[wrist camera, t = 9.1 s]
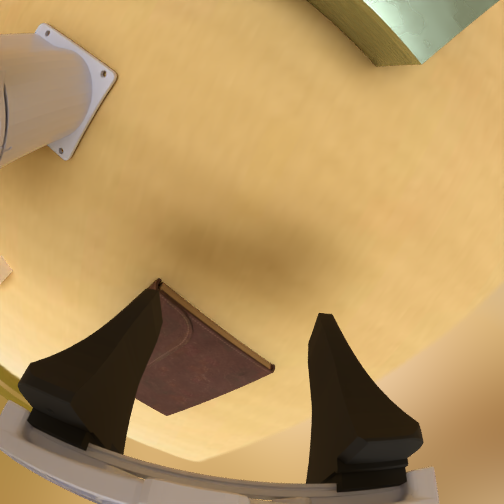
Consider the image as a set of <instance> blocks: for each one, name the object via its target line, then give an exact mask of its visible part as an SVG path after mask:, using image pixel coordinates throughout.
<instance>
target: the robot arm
mask: <svg viewBox="0 0 504 504" xmlns="http://www.w3.org/2000/svg"><path fill="white" fill-rule="evenodd" d="M49 31H50V34H49V36H48V33H49ZM104 71H106V73H107V74H106V76H105V77H104V76H103V73H104ZM116 78H117V75H116V73H115V71H113V70H112V69H110V68H109V67H108V66H106V65H105V64H104V63H102V62H101V61H100V60H98V59H97V58H96V57H94V56H93V55H91V54H90V53H89V52H87V51H86V50H84V49H83V48H82V47H80V46H79V45H77V44H76V43H75V42H73V41H72V40H70V39H69V38H67V37H66V36H64V35H63V34H62V33H60V32H59V31H57V30H56V29H54V28H53V27H51V26H50V25H48V24H47V23H41V24H40V25H39V26H38V28H37V30H36V32H35V33H20V34H0V168H2V167H4V166H6V165H7V164H9V163H11V162H13V161H15V160H17V159H19V158H21V157H23V156H25V155H27V154H29V153H31V152H33V151H35V150H37V149H39V148H41V147H44V146H46V145H47V146H49V147H50V148H51V149H52V150H53V151H54V152H55V153H56V154H58V155H59V156H60V157H61V158H62V159H63V160H68V159H70V158H71V157H72V155H73V153H74V151H75V149H76V147H77V145H78V143H79V141H80V139H81V138H82V136H83V134H84V132H85V130H86V128H87V127H88V125H89V123H90V121H91V120H92V118H93V116H94V114H95V113H96V111H97V109H98V108H99V106H100V104H101V103H102V101H103V99H104V98H105V96H106V95H107V93H108V91H109V90H110V88H111V87H112V85H113V84H114V82H115V81H116ZM61 149H63V152H62V150H61ZM162 323H163V319H162V311H161V302H160V293H159V290H154V289H148V288H147V289H145V290H144V291H143V292H142V293H141V294H140V295H139V296H138V297H137V298H135V299H134V300H133V301H132V302H131V303H130V304H129V305H128V306H127V307H126V308H124V309H123V310H122V311H121V312H120V313H119V314H118V315H116V316H115V317H114V318H113V319H112V320H110V321H109V322H108V323H107V324H105V325H104V326H103V327H101V328H100V329H99V330H97V331H96V332H95V333H93V334H92V335H90V336H89V337H87V338H85V339H84V340H82V341H80V342H79V343H77V344H75V345H73V346H71V347H70V348H68V349H66V350H63V351H61V352H59V353H57V354H55V355H52V356H50V357H47V358H44V359H41V360H38V361H36V362H32V363H30V365H29V366H28V368H27V369H26V371H25V373H24V374H23V376H22V378H21V379H20V381H19V383H18V388H19V390H20V392H21V393H22V395H23V396H24V397H25V399H26V400H27V401H28V402H29V403H30V405H31V406H32V407H33V409H32V411H31V413H30V412H29V411H28V410H27V409H25V408H23V407H21V406H20V405H18V404H16V403H14V402H12V401H11V400H8V402H7V403H6V405H5V407H4V409H3V411H2V413H1V415H0V450H1V451H3V452H4V453H5V454H7V455H8V456H9V457H11V458H12V459H13V460H14V461H16V462H17V463H19V464H21V465H22V466H24V467H26V468H27V469H29V470H31V471H33V472H34V473H36V474H38V475H40V476H41V477H43V478H45V479H47V480H49V481H50V482H52V483H54V484H56V485H58V486H60V487H62V488H64V489H66V490H68V491H70V492H72V493H75V494H77V495H79V496H81V497H83V498H85V499H88V500H90V501H92V502H95V503H97V504H439V497H438V490H437V483H436V478H435V472H434V467H432V466H431V467H426V468H422V469H416V470H411V471H409V472H406V470H405V467H406V466H408V459H407V458H408V457H409V456H411V455H412V454H413V453H415V452H416V451H417V450H418V449H419V448H420V447H421V446H422V444H423V438H422V432H421V429H420V426H419V423H418V422H417V421H415V420H414V419H413V418H411V417H410V416H409V415H407V414H406V413H405V412H403V411H402V410H401V409H400V408H399V407H398V406H397V405H396V404H394V403H393V402H392V401H391V400H390V399H389V398H388V397H387V396H386V395H385V394H384V393H383V392H382V391H381V390H380V388H379V387H378V386H377V385H376V384H375V383H374V381H373V380H372V379H371V378H370V376H369V375H368V374H367V372H366V371H365V370H364V368H363V367H362V365H361V364H360V362H359V361H358V359H357V358H356V356H355V355H354V353H353V351H352V350H351V348H350V346H349V345H348V343H347V341H346V339H345V338H344V336H343V334H342V332H341V330H340V328H339V326H338V324H337V322H336V320H335V318H334V316H333V315H332V314H324V313H319V314H318V317H317V320H316V323H315V326H314V329H313V332H312V335H311V337H310V340H309V343H308V369H309V379H310V390H311V401H312V427H311V443H310V455H309V465H308V472H307V479H306V484H290V483H269V482H256V481H246V480H237V479H229V478H222V477H215V476H209V475H203V474H198V473H192V472H187V471H182V470H178V469H173V468H169V467H165V466H160V465H157V464H153V463H149V462H145V461H142V460H138V459H135V458H131V457H128V456H125V455H123V454H124V447H125V441H126V435H127V430H128V425H129V420H130V416H131V412H132V408H133V404H134V400H135V396H136V393H137V389H138V386H139V383H140V380H141V378H142V375H143V373H144V371H145V368H146V366H147V364H148V361H149V359H150V357H151V355H152V352H153V350H154V348H155V345H156V343H157V340H158V337H159V334H160V330H161V327H162ZM138 477H140V478H143V479H140V478H138ZM144 479H145V480H144ZM249 498H251V499H249ZM256 499H263V500H272V501H263V500H256Z"/></svg>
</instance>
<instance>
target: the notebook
mask: <svg viewBox="0 0 504 504" xmlns="http://www.w3.org/2000/svg"><path fill="white" fill-rule="evenodd" d="M160 281H161V279H160V278H159V279H158V280H156V281H155V282H154V283H153V284H152V285H151V286H150V287H149V288H148V289H154V290H159V293H160V302H161V311H162V319H163V323H162V327H161V330H160V334H159V337H158V340H157V343H156V345H155V348H154V350H153V352H152V355H151V357H150V359H149V361H148V364H147V366H146V368H145V371H144V373H143V375H142V378H141V380H140V383H139V386H138V389H137V393H136V396H135V398H136V399H138V400H139V401H141V402H143V403H144V404H146V405H148V406H150V407H151V408H153V409H155V410H157V411H158V412H160V413H162V414H164V415H166V416H168V415H171V414H174V413H177V412H180V411H182V410H185V409H188V408H190V407H193V406H196V405H198V404H201V403H203V402H206V401H209V400H211V399H214V398H216V397H218V396H221V395H223V394H226V393H228V392H231V391H233V390H235V389H238V388H240V387H242V386H245V385H247V384H249V383H251V382H254V381H256V380H258V379H260V378H262V377H264V376H267V375H269V374H271V373H273V372H274V370H275V365H274V364H273V365H272V364H271V363H269V362H268V361H267V360H265V359H264V358H262V357H261V356H259V355H258V354H257V353H255V352H254V351H252V350H251V349H250V348H248V347H247V346H245V345H244V344H243V343H241V342H240V341H238V340H237V339H236V338H234V337H233V336H232V335H230V334H229V333H227V332H226V331H225V330H223V329H222V328H221V327H219V326H218V325H217V324H215V323H214V322H213V321H211V320H210V319H209V318H208V317H206V316H205V315H204V314H202V313H201V312H200V311H198V310H197V309H196V308H195V307H193V306H192V305H191V304H189V303H188V302H187V301H186V300H184V299H183V298H182V297H181V296H179V295H178V294H177V293H176V292H174V291H173V290H172V289H171V288H169V287H168V286H167V285H166V284H164V283H162V284H161V285H160V286H159V287H158V284H159V282H160Z"/></svg>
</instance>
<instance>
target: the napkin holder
mask: <svg viewBox="0 0 504 504" xmlns="http://www.w3.org/2000/svg"><path fill="white" fill-rule="evenodd" d="M12 271H13V270H12V269H11V267H10V266H9V265H8V263H7V262H6V260H5V259H4V258H3V256H2V255H1V256H0V284H1V283H2V282H3V281H4V280H5V279H6V277H7V276H8V275H9V274H10V273H11V272H12Z"/></svg>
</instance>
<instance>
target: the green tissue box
mask: <svg viewBox="0 0 504 504" xmlns="http://www.w3.org/2000/svg"><path fill="white" fill-rule="evenodd" d="M307 1H308V2H310V3H311V4H312V5H313V6H314V7H316V8H317V9H318V10H319V11H320V12H321V13H323V14H324V15H325V16H326V17H327V18H328V19H329V20H331V21H332V22H333V23H334V24H335V25H336V26H337V27H338V28H339V29H340V30H341V31H342V32H344V33H345V34H346V35H347V36H348V37H349V38H350V39H351V40H352V41H353V42H354V43H355V44H356V45H357V46H358V47H359V48H360V49H361V50H362V51H363V52H364V53H365V54H366V56H367V57H368V58H369V59H370V60H371V61H372V62H373V63H374V64H375V65H376V66H377V67H378V66H393V65H420V64H423V63H424V62H425V61H426V60H428V59H429V58H430V57H431V56H432V55H433V54H435V53H436V52H437V51H438V50H439V49H441V48H442V47H443V46H444V45H445V44H446V43H448V42H449V41H450V40H451V39H452V38H454V37H455V36H456V35H457V34H458V33H460V32H461V31H462V30H463V29H464V28H466V27H467V26H468V25H469V24H471V23H472V22H473V21H474V20H475V19H477V18H478V17H479V16H480V15H482V14H483V13H484V12H485V11H487V10H488V9H489V8H490V7H492V6H493V5H494V4H495V3H497V2H498V1H499V0H307Z"/></svg>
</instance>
